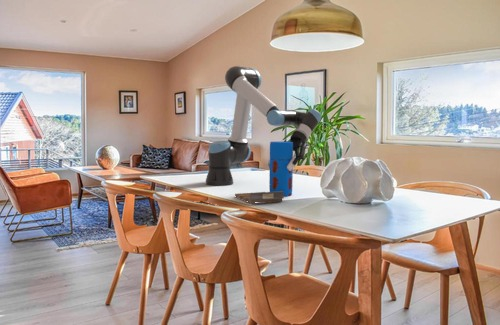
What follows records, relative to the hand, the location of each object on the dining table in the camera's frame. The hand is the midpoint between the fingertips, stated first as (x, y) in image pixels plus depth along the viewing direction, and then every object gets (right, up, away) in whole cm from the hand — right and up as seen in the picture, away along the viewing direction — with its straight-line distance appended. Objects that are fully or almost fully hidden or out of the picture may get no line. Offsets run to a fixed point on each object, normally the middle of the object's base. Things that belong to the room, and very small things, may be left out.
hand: (278, 168), depth 206 cm
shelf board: (-10, -14, -10) cm, 19 cm away
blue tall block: (+1, -13, +3) cm, 13 cm away
